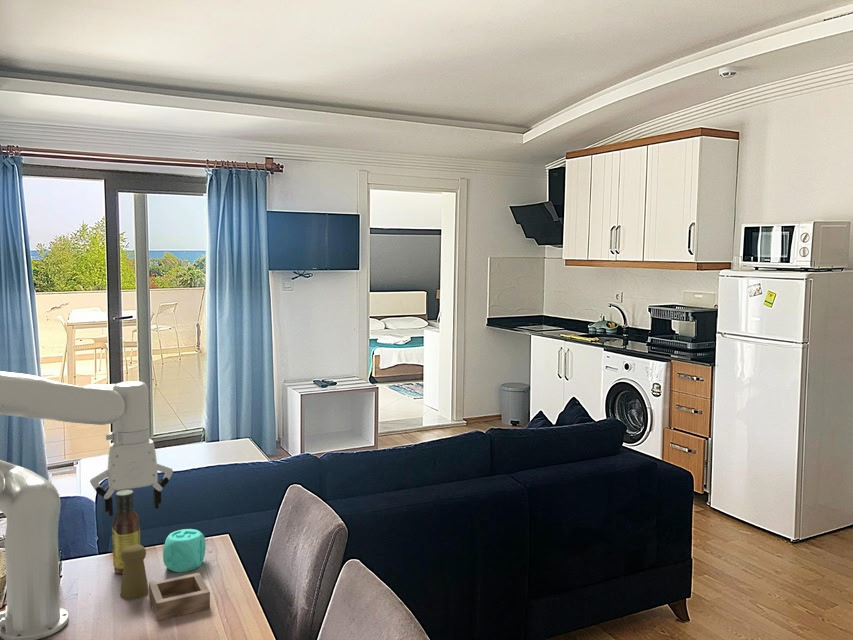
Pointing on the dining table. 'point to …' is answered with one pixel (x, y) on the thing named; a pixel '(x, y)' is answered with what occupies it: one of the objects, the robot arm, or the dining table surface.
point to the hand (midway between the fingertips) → (133, 510)
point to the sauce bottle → (124, 527)
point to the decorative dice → (184, 550)
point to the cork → (134, 573)
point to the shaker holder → (179, 596)
